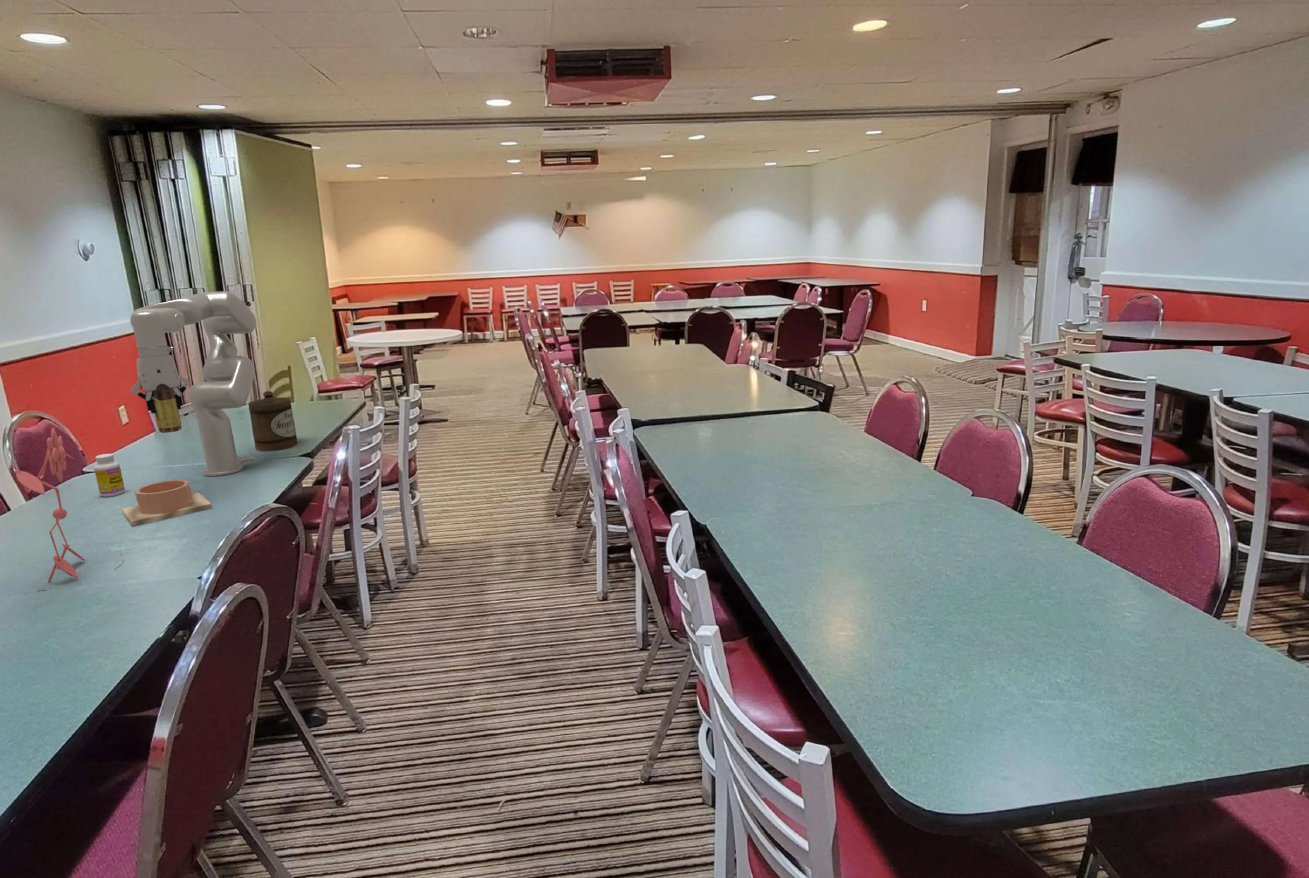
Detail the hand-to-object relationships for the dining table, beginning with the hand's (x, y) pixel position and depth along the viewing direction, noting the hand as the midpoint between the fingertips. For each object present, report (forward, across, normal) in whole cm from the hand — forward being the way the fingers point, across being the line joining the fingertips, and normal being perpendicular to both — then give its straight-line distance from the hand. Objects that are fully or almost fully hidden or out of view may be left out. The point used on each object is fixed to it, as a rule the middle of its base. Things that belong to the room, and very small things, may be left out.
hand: (166, 410), depth 230 cm
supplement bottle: (+28, +16, -19) cm, 37 cm away
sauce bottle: (+7, 0, 0) cm, 7 cm away
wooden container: (+28, -40, -41) cm, 63 cm away
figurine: (+27, +30, +50) cm, 65 cm away
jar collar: (+26, +7, +15) cm, 31 cm away
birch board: (+27, +7, +15) cm, 32 cm away
